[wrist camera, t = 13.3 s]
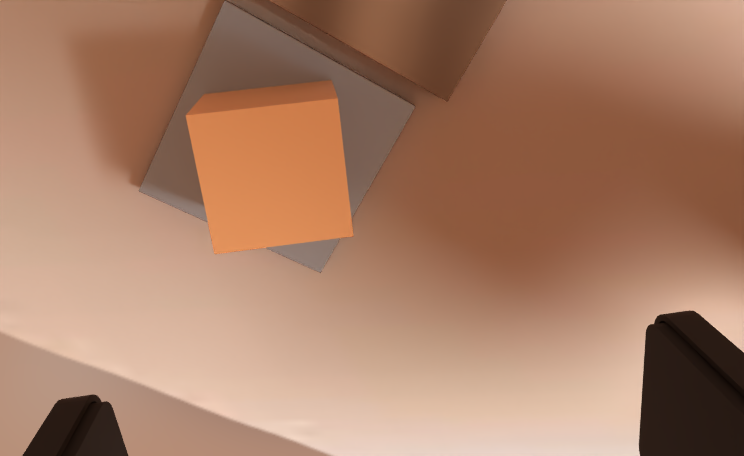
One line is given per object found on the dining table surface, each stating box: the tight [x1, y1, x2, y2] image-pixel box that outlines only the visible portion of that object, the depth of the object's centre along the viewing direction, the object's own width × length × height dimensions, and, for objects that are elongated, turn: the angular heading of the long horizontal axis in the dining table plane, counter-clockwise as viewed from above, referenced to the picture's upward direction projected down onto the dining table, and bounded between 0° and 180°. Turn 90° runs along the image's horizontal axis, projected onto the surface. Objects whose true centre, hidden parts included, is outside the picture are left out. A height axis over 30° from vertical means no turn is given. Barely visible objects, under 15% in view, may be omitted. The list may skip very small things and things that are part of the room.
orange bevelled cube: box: [186, 80, 353, 254], centre depth 28 cm, size 6×6×5 cm
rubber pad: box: [139, 0, 415, 273], centre depth 30 cm, size 10×10×1 cm
